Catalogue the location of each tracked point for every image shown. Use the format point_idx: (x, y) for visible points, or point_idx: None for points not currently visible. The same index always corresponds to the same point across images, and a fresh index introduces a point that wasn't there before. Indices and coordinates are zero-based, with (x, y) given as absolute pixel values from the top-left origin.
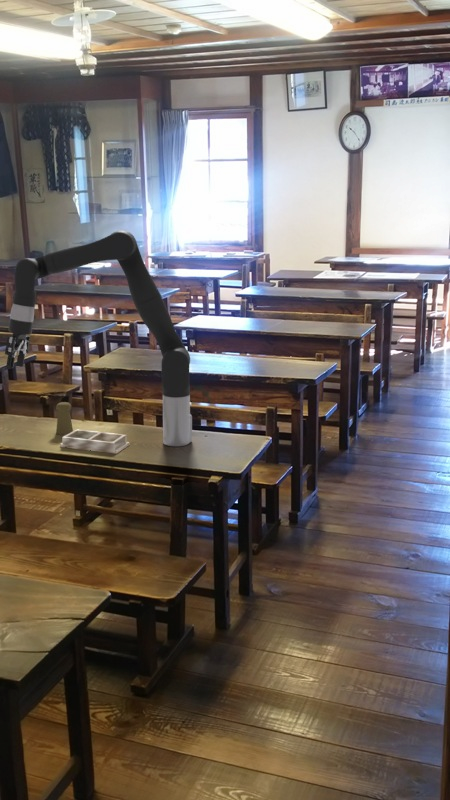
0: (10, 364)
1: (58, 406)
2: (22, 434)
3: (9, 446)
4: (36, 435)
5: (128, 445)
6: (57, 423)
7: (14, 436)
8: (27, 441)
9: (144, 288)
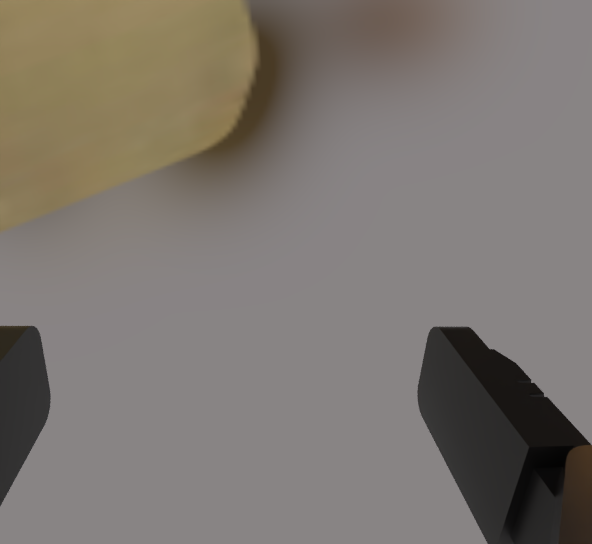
0: (519, 381)
1: None
2: (23, 133)
3: (234, 123)
4: (9, 44)
5: None
6: None
7: (73, 160)
8: (136, 60)
9: None
